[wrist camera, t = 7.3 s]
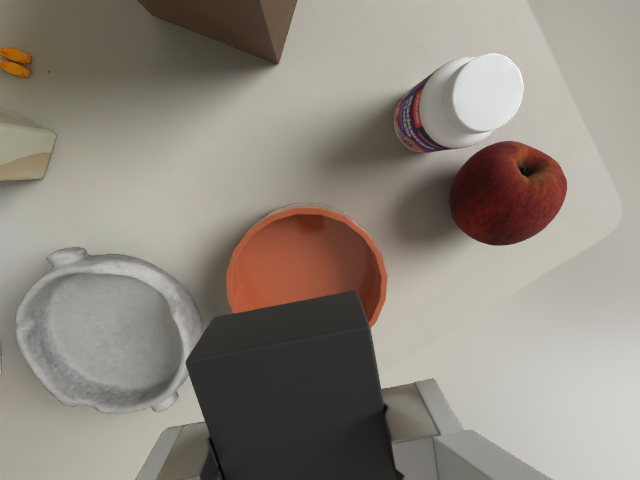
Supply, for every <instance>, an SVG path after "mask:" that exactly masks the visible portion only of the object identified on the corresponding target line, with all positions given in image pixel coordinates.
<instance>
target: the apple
mask: <svg viewBox="0 0 640 480" xmlns="http://www.w3.org/2000/svg"><path fill="white" fill-rule="evenodd" d="M566 191H567V181H566V178H565V176H564V173H563V171H562V169H561V167H560V166H559V164H558V163H557V162H556V161H555V160H554V159H552V158H551V157H550V156H548V155H546V154H544V153H543V152H541V151H539V150H537V149H534V148H532V147H530V146H527V145H525V144H522V143H519V142H514V141H505V142H499V143H495V144H492V145H490V146H487V147H485V148H484V149H482V150H480V151H479V152H477V153H476V154H474V155H473V156H472V157H471V158H470V159H469V160H468V161H467V162H466V163H465V164H464V165H463V166H462V168H461V169H460V170H459V172H458V173H457V175H456V177H455V179H454V181H453V184H452V186H451V190H450V195H449V206H450V211H451V215H452V217H453V220H454V221H455V223H456V224H457V226H458V227H459V228H460V229H461V230H462V231H463V232H465V233H466V234H467V235H468V236H470V237H471V238H473V239H475V240H477V241H479V242H482V243H485V244H489V245H510V244H515V243H518V242H521V241H524V240H526V239H528V238H530V237H532V236H534V235H536V234H537V233H539V232H540V231H541V230H543V229H544V228H545V227H546V226H547V225H548V224H549V223H550V222H551V221H552V220H553V219H554V217H555V216H556V215H557V213H558V212H559V210H560V208H561V206H562V204H563V202H564V199H565V196H566Z"/></svg>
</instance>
